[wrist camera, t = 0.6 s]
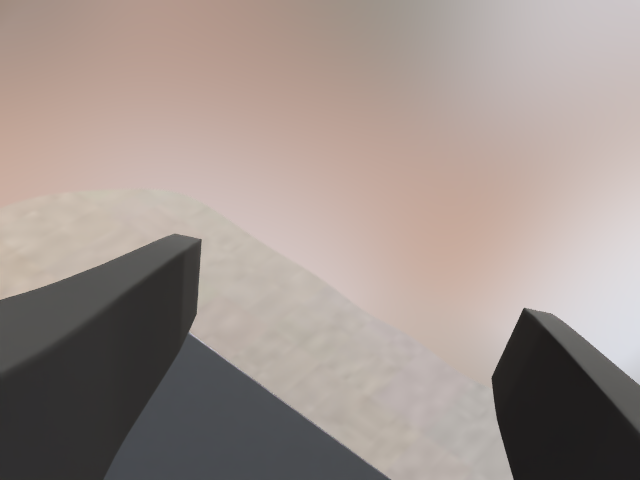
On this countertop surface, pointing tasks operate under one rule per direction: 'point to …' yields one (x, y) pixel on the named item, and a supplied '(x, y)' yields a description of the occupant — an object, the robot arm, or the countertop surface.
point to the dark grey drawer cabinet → (227, 430)
